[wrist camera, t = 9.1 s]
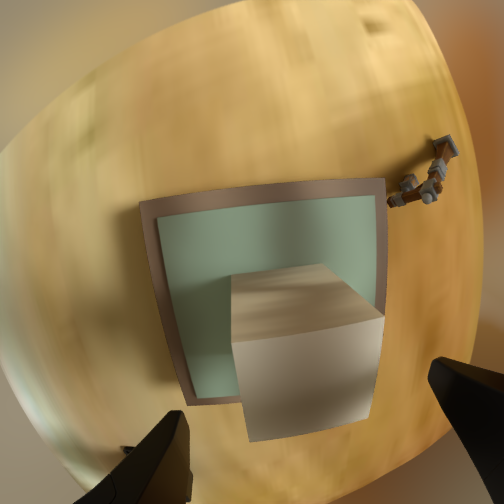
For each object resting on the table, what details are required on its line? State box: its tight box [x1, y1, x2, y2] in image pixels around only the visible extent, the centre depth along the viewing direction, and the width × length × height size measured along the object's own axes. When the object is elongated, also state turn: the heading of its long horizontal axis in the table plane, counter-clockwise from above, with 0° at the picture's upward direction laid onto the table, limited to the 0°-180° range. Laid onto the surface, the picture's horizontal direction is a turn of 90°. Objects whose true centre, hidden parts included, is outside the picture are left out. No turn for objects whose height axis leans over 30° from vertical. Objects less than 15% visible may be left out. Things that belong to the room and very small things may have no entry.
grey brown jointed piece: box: [387, 134, 460, 208], centre depth 16 cm, size 2×8×4 cm, turn 131°
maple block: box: [231, 263, 385, 442], centre depth 12 cm, size 5×5×7 cm
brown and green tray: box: [139, 178, 388, 406], centre depth 17 cm, size 14×14×3 cm
